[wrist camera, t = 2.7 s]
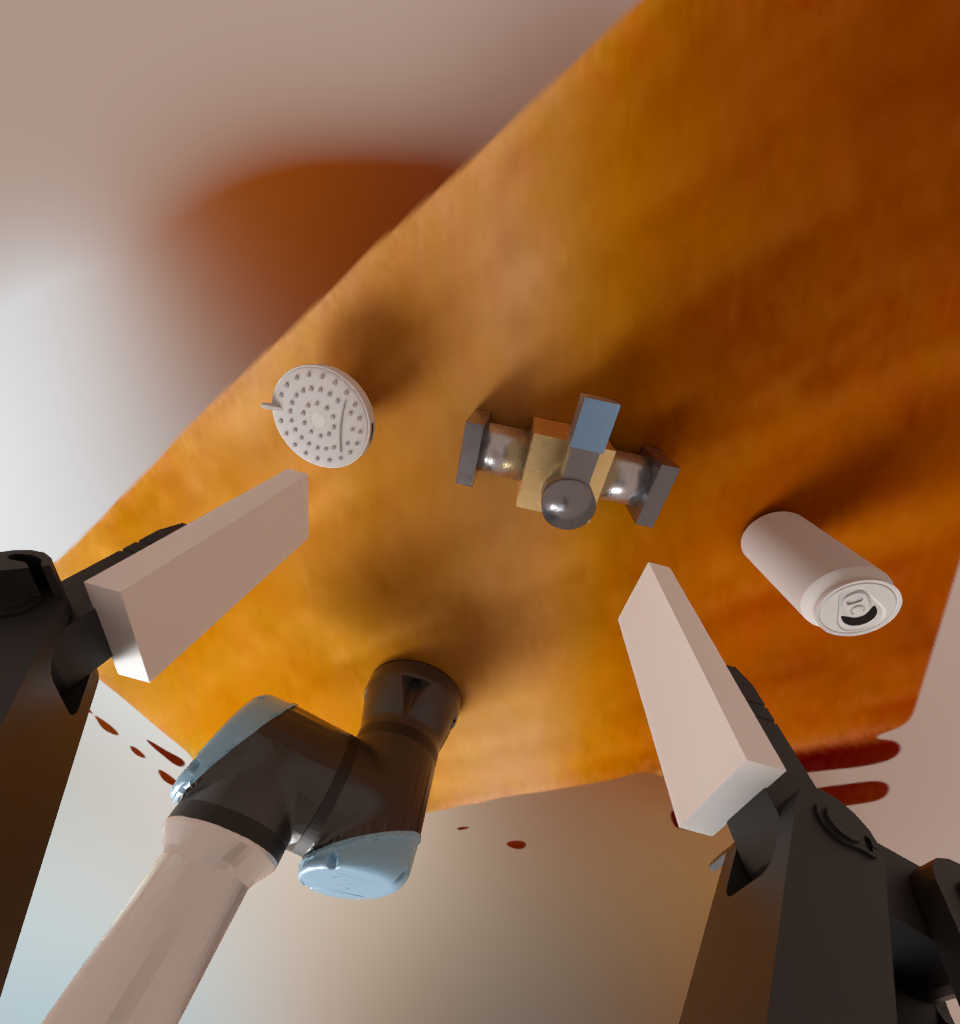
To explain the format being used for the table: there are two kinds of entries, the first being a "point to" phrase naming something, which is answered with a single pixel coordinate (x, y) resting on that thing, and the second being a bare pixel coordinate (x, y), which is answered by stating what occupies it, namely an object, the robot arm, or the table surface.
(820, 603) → the beverage can
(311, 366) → the showerhead
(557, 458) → the valve
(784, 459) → the table surface
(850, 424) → the table surface
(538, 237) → the table surface
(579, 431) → the lever
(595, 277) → the table surface
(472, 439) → the pipe in
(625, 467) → the pipe out
